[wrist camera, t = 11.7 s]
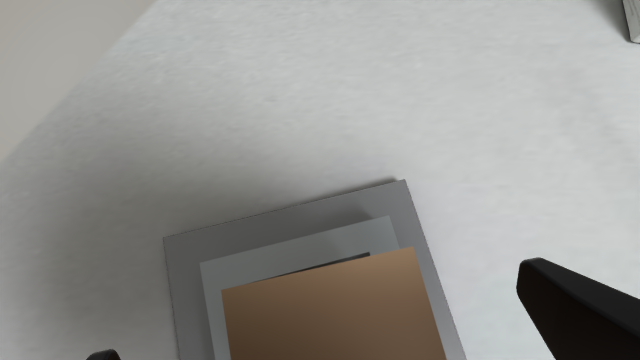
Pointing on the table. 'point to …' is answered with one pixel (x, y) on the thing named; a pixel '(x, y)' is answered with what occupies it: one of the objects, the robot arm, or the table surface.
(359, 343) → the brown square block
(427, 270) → the housing
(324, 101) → the table surface
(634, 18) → the skincare box
